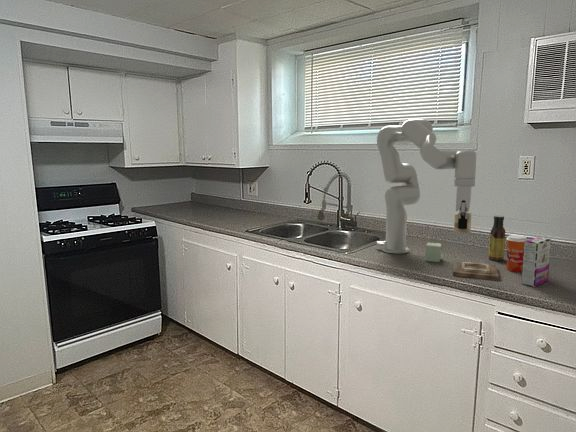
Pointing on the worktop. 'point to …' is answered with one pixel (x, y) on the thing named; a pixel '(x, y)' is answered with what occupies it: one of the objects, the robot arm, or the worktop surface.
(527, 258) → the candy bar box
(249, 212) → the worktop surface
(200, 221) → the worktop surface
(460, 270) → the base plate
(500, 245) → the sauce bottle
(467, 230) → the maple block
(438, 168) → the robot arm
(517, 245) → the paper cup
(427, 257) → the sage block
